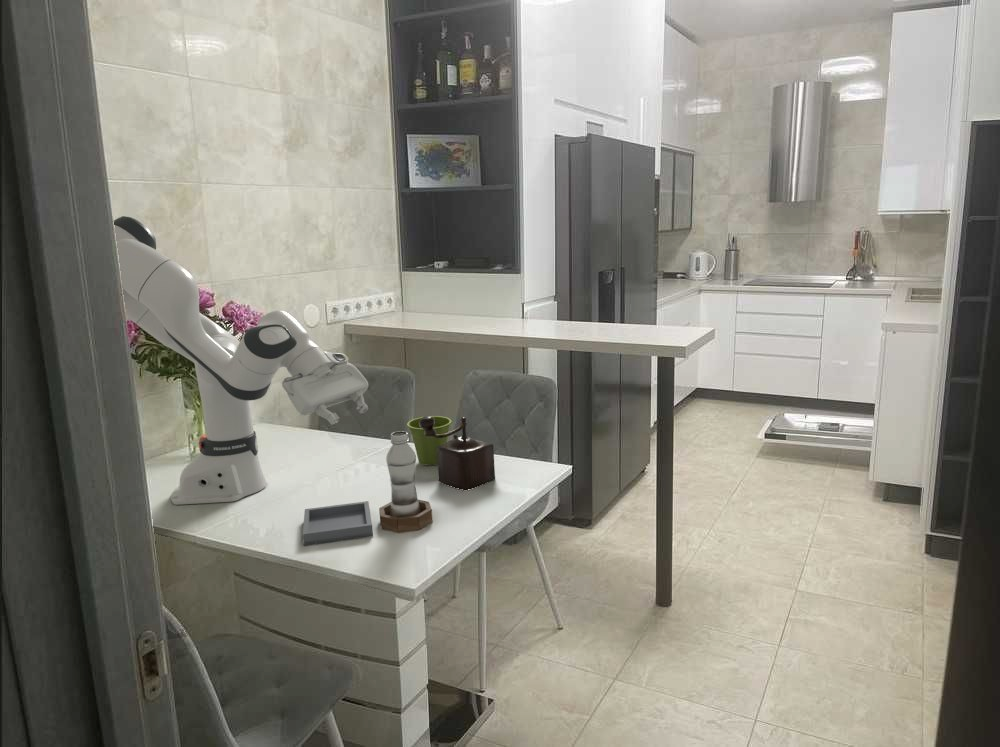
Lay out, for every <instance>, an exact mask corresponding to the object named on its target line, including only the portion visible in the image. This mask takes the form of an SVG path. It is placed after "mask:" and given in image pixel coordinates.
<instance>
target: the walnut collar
mask: <svg viewBox="0 0 1000 747" xmlns="http://www.w3.org/2000/svg"><path fill="white" fill-rule="evenodd" d="M418 501H419V506H420V513H419V514H418V515H415V516H408V517H400V518H398V517H393V516H391V513H390V512H391V501H390V502H388V503H386V504H384V505H382V506H380V507H379V508H378V512H379V521H380V522H379V524H380V527H381V530H384V531H387V532H388V531H389V532H392V533H396V534H402V533H409V532H417V531H421V530H422V529H424V528H425V527H428V526H429V525H430V524H432V523H433V522H434V520H433V509H432V506H431V504H430V501H427V500H422V499H418Z"/></svg>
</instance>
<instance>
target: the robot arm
mask: <svg viewBox="0 0 1000 747" xmlns="http://www.w3.org/2000/svg"><path fill="white" fill-rule="evenodd" d="M113 221H114V225H115V233H116V241H117V248H118V255H119V263H120V271H121V280H122V288H123V295H124V302H125V309H126V315H125V316H126V317H127V318H128V319H129V320H130V321H132V322H133V323H134V324H136V325H137V326H138V327H140V328H141V329H142V330H143V331H145V333H148V334H149V335H150V336H152V337H153V338H154V339H156V341H158V342H159V343H161V344H162V345H163V346H165V347H167V348H168V349H171V350H172V351H175V353H178V354H179V355H180V356H183V357H185V358H186V359H187V360H189V361H191V362H192V363H194V368H195V376H196V380H197V386H198V390H199V396H200V400H201V405H202V406H201V407H202V411H203V420H204V425H205V433H206V435H205V434H204V435H203V434H202V435H201V436H200V438H199V440H198V448H199V452H200V453H199V454H198V455H197V456H196V457H195V458H193V460H191V461H190V462H189V463H188V464H187V465H186V466H185V467H184V468H183V469H182V472H180V473H181V474H180V476H179V477H180V478H179V485H178V486H177V487H176V488H174V490H173V491H172V493H171V496H170V501H171V503H172V504H174V505H176V506H177V505H179V506H180V505H195V504H212V503H214V504H215V503H227V502H228V503H230V502H236V501H239V500H241V499H243V498H245V497H247V496H250V495H252V494H255V493H258V492H260V491H262V490H263V489H265V488H266V487H267V485H268V483H267V480H266V478H265V476H264V473H263V470H262V467H261V464H260V460H259V456H258V453H259V444H258V437H257V432H256V431H255V430H254V422H253V415H252V408H251V401H256V400H259V399H261V398H263V397H265V396H266V395H267V392H268V390H269V389H270V386H271V384H272V380H273V378H274V377H275V375H276V374H277V372H278V370H279V368H283V367H284V368H285V369H286V371H288V373H289V374H290V375H291V376H286V377H285V378H283V381H282V383H281V384H282V385H281V386H282V388H283V389H284V390H285V392H286V393H287V396H288V398H289V400H290V402H291V403H292V405H293V407H294V409H295V410H296V411H297V412H298V413H299V414H300V415H303V416H307V415H310V414H313V413H316V414H317V416H319V417H321V418H323V419H325V420H327V421H328V423H330V425H335V424H338V422H339V421H340V417H339V415H338V413H336V412H332V411H330V410H328V408H331V407H333V406H336V405H338V404H340V403H341V404H342V403H344V402H346V401H350V400H352V401H353V402H354V403H356V404H357V407H356V410H357V411H358V412H359V413H360V414H364V413H366V412H367V411H368V409H369V407H368V404H366V402H365V398H364V394H365V393H366V391H368V388H369V381H368V380H367V378H366V377H365V376H364V375H363V373H362V372H361V371H360V370H359V369H358V368H357V367H356V366H355V365H354V364H352V363H350V362H349V360H350V359H349V357H348V356H347V355H346V354H344V353H341V352H340V353H338V352H330V351H324V350H323V349H322V347H320V346H319V345H317V344H316V343H315V342H314V341H313V339H312V336H311V335H310V333H309V332H308V331H307V329H306V328H305V327H304V326H303V325H302V324H301V323H300V321H298V320H297V319H296V318H295V316H293V315H291V314H289V312H287V311H285V310H281V309H279V310H273V311H270V312H268V313H266V314H265V315H263V316H262V317H260V319H259V320H258V323H257V325H256V326H253V327H251V328H249V329H248V330H246V332H245V333H244V334H243V336H242V338H241V339H240V340H239V339H238V338H237V337H236V336H234V335H233V334H231V333H230V332H228V331H227V330H226V329H224V328H223V327H221V326H220V325H219V324H217V323H216V322H214V321H213V320H212V319H210V318H209V317H207V316H206V315H204V314H203V313H201V312H200V290H199V286H198V283H197V281H196V279H195V277H193V276H194V275H192V274H191V273H190V272H189V271H188V270H187V269H185V267H183V266H182V265H180V264H179V263H177V262H176V261H174V260H173V259H172V258H170V257H169V256H167V255H165V254H163V253H162V252H160V251H159V250H157V240H156V237H155V235H154V234H153V233H152V232H151V230H150V229H149V228H148V227H147V226H146V225H145V224H144V223H142V222H140V221H139V220H138V219H135V218H133V217H131V216H124V215H123V216H120V217H118V218H116V219H114V220H113Z"/></svg>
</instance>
